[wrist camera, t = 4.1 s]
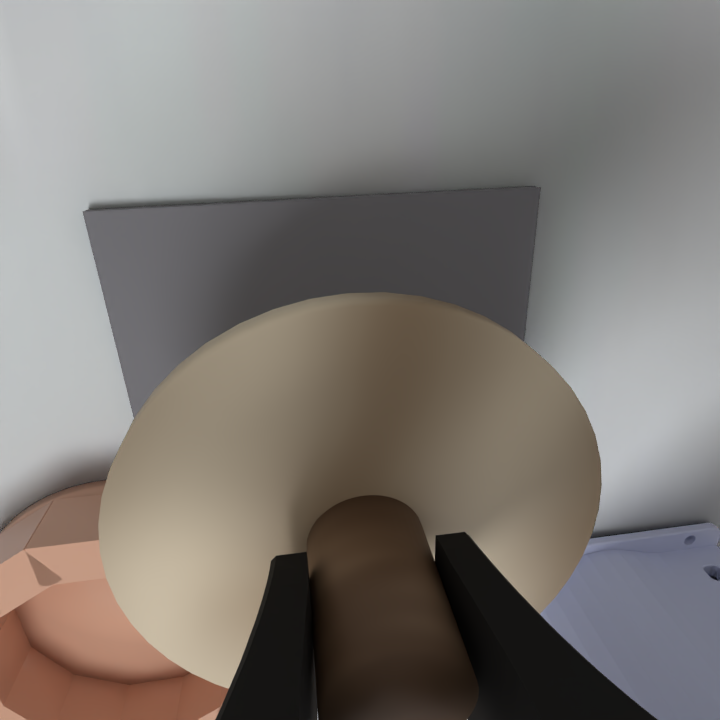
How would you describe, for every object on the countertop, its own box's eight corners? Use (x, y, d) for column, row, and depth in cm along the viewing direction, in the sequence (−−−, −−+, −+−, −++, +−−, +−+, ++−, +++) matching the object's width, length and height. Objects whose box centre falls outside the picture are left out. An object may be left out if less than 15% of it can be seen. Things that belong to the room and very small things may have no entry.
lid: (617, 269, 10) (823, 360, 7) (554, 637, 15) (652, 820, 11) (41, 319, 9) (-134, 469, 5) (166, 703, 14) (123, 933, 10)
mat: (534, 186, 16) (540, 187, 16) (500, 518, 21) (504, 525, 21) (88, 209, 14) (82, 211, 14) (173, 560, 20) (171, 568, 19)
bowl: (268, 462, 19) (266, 519, 16) (294, 665, 23) (296, 737, 21) (-65, 498, 17) (-129, 568, 15) (32, 706, 22) (-2, 787, 19)
